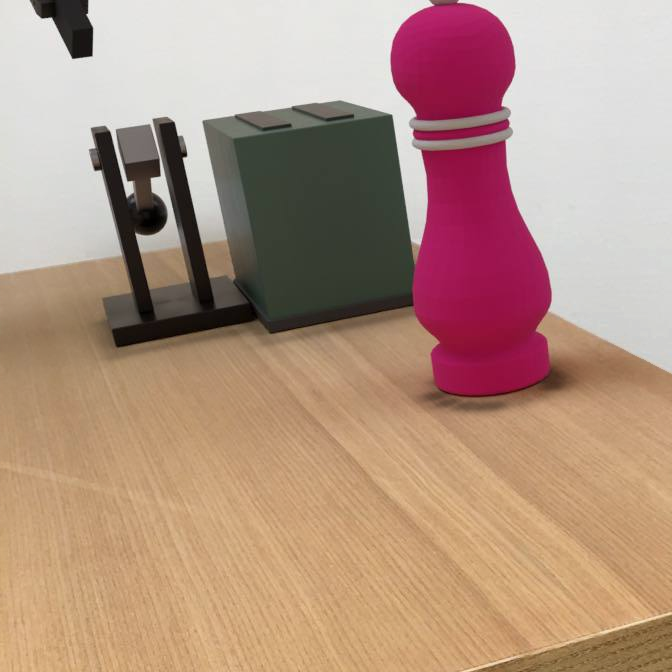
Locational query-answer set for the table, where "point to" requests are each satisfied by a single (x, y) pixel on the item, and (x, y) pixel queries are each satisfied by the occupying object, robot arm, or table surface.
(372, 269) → the toaster
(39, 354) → the table surface
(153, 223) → the lever
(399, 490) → the table surface
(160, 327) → the bracket
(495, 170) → the pepper mill
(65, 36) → the robot arm
